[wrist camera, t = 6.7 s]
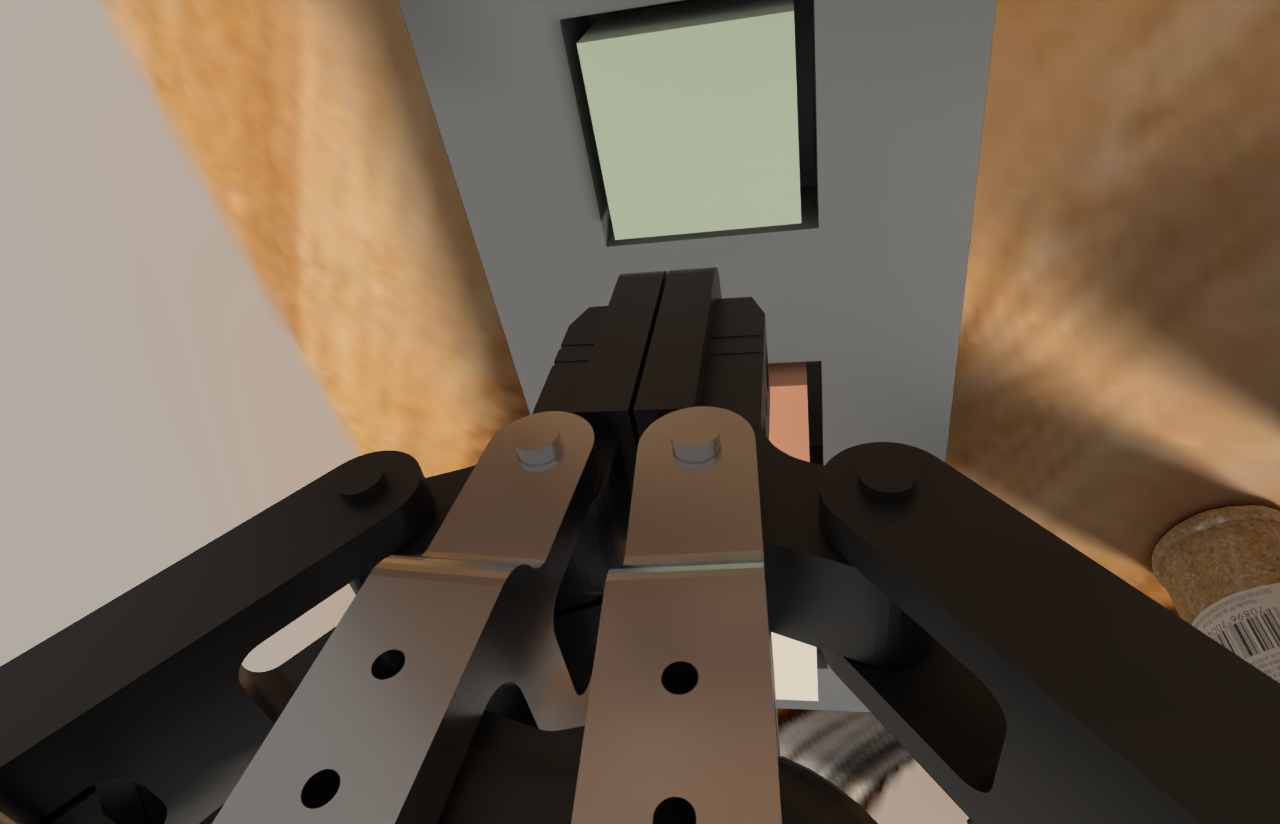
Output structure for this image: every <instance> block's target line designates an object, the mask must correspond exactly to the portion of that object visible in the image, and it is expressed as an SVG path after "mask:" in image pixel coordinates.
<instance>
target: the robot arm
mask: <svg viewBox="0 0 1280 824" xmlns="http://www.w3.org/2000/svg"><path fill="white" fill-rule="evenodd" d="M769 417H770V384H769V368H768V353H767V337H766V322H765V313H764V312H763V311H762V309H761V308H760V307H759V305H758V304H757V303H756V302H755V300H754V299H753V298H752V297H738V298H722V297H721V287H720V278H719V272H718V269H717V267H707V268H694V269H680V270H670V271H669V272H667V271H654V272H640V273H626V274H620V275H619V277H618V280H617V282H616V285H615V288H614V291H613V294H612V296H611V299H610V302H609V305H608V306H597V307H589V308H588V309H587V310H586V311H584V312H583V313H582V314H581V315H580V316H579V317H578V318H577V319H576V320H575V321H573V322H572V323H571V324H570V325H569V327H568V330H567V332H566V334H565V337H564V339H563V341H562V344H561V349H559V351H558V353H557V356H556V358H555V360H554V366H552V368H551V370H550V372H549V375H548V377H547V379H546V382H545V384H544V387H543V389H542V391H541V394H540V396H539V398H538V401H537V403H536V406H535V408H534V410H533V413H532V415H528V416H525V417H523V418H520V419H518V420H516V421H514V422H512V423H510V424H509V425H507V426H505V427H504V428H503V429H501V430H500V431H499V432H498V433H497V434H496V435H495V436H494V437H493V438H492V439H491V441H490V442H489V443H488V445H487V447H486V449H485V450H484V452H483V454H482V455H481V457H480V459H479V461H478V462H477V464H476V465H475V466H472V467H468V468H465V469H461V470H457V471H453V472H449V473H445V474H440V475H436V476H432V477H428V478H425V477H424V475H423V473H422V470H421V468H420V466H419V464H418V462H417V461H416V460H415V459H414V458H413V457H412V456H410V455H409V454H406V453H403V452H398V451H379V452H373V453H369V454H365V455H362V456H359V457H357V458H354V459H352V460H349V461H348V462H346V463H344V464H342V465H340V466H338V467H337V468H335V469H333V470H332V471H330V472H328V473H327V474H325V475H323V476H321V477H320V478H318V479H316V480H315V481H313V482H311V483H310V484H308V485H306V486H305V487H303V488H301V489H300V490H298V491H296V492H295V493H293V494H291V495H289V496H288V497H286V498H285V499H283V500H281V501H279V502H278V503H276V504H274V505H273V506H271V507H269V508H267V509H266V510H264V511H263V512H261V513H259V514H257V515H256V516H254V517H252V518H251V519H249V520H247V521H246V522H244V523H242V524H240V525H239V526H237V527H235V528H234V529H232V530H230V531H229V532H227V533H225V534H224V535H222V536H220V537H219V538H217V539H215V540H213V541H212V542H210V543H208V544H207V545H205V546H203V547H202V548H200V549H198V550H197V551H195V552H193V553H192V554H190V555H188V556H187V557H185V558H183V559H181V560H180V561H178V562H176V563H175V564H173V565H171V566H170V567H168V568H166V569H165V570H163V571H161V572H159V573H158V574H156V575H154V576H153V577H151V578H149V579H148V580H146V581H144V582H143V583H141V584H139V585H138V586H136V587H134V588H132V589H131V590H129V591H127V592H126V593H124V594H122V595H121V596H119V597H117V598H116V599H114V600H112V601H111V602H109V603H107V604H106V605H104V606H102V607H100V608H99V609H97V610H95V611H94V612H92V613H90V614H89V615H87V616H85V617H84V618H82V619H80V620H79V621H77V622H75V623H73V624H72V625H70V626H69V627H67V628H65V629H63V630H62V631H60V632H58V633H57V634H55V635H53V636H52V637H50V638H48V639H46V640H45V641H43V642H42V643H40V644H38V645H36V646H35V647H33V648H31V649H30V650H28V651H26V652H25V653H23V654H21V655H19V656H18V657H16V658H14V659H13V660H11V661H9V662H8V663H6V664H4V665H3V666H1V667H0V824H878V823H877V822H876V821H875V820H874V819H873V818H872V817H871V816H870V815H869V814H868V813H867V812H866V811H865V810H864V809H863V808H862V807H861V806H860V805H859V804H858V803H857V802H855V801H854V800H853V799H852V798H850V797H849V796H848V795H847V794H845V793H844V792H843V791H842V790H840V789H839V788H838V787H837V786H836V785H834V784H833V783H831V782H830V781H828V780H826V779H825V778H823V777H822V776H820V775H818V774H817V773H815V772H814V771H812V770H811V769H809V768H806V767H804V766H802V765H800V764H798V763H796V762H794V761H792V760H790V759H788V758H786V757H783V756H780V746H779V733H778V720H777V706H776V693H775V679H774V665H773V652H772V638H771V632H773V633H776V634H779V635H782V636H785V637H788V638H791V639H794V640H797V641H800V642H803V643H806V644H809V645H812V646H815V647H818V648H821V649H822V651H823V655H824V658H825V660H826V662H827V663H828V665H829V667H830V668H831V669H832V671H833V672H834V673H835V674H836V675H837V676H838V677H839V678H840V680H841V681H842V682H843V683H844V684H845V685H846V686H847V687H848V688H849V689H850V690H851V691H852V692H853V693H854V695H855V696H856V697H857V698H858V699H859V700H860V701H861V702H862V703H863V704H864V705H865V706H866V707H867V708H868V710H869V711H870V712H871V713H872V714H873V715H874V716H875V717H876V718H877V719H878V720H879V721H880V722H881V724H882V725H883V726H884V727H885V728H886V729H887V730H888V731H889V732H890V733H891V734H892V735H893V736H894V737H895V739H896V740H897V741H898V742H899V743H900V744H901V745H902V746H903V747H904V748H905V749H906V750H907V751H908V752H909V754H910V755H911V756H912V757H913V758H914V759H915V760H916V761H917V762H918V763H919V764H920V765H921V766H922V768H923V769H924V770H925V771H926V772H927V773H928V774H929V775H930V776H931V777H932V778H933V779H934V780H935V781H936V782H937V784H938V785H939V786H940V787H941V788H942V789H943V790H944V791H945V792H946V793H947V794H948V795H949V796H950V797H951V799H952V800H953V801H954V802H955V803H956V804H957V805H958V806H959V807H960V808H961V809H962V810H963V811H964V813H965V814H966V815H967V816H968V817H969V818H970V819H971V820H972V821H973V822H974V823H975V824H1280V683H1279V682H1277V681H1276V680H1274V679H1272V678H1271V677H1269V676H1268V675H1266V674H1265V673H1263V672H1262V671H1260V670H1259V669H1257V668H1256V667H1254V666H1253V665H1251V664H1250V663H1248V662H1247V661H1245V660H1244V659H1242V658H1241V657H1239V656H1238V655H1236V654H1235V653H1233V652H1232V651H1230V650H1229V649H1227V648H1225V647H1224V646H1222V645H1221V644H1219V643H1218V642H1216V641H1215V640H1213V639H1212V638H1210V637H1209V636H1207V635H1206V634H1204V633H1203V632H1201V631H1200V630H1198V629H1197V628H1195V627H1194V626H1192V625H1191V624H1189V623H1188V622H1186V621H1185V620H1183V619H1181V618H1180V617H1178V616H1177V615H1175V614H1174V613H1172V612H1171V611H1169V610H1168V609H1166V608H1165V607H1163V606H1162V605H1160V604H1159V603H1157V602H1156V601H1154V600H1153V599H1151V598H1150V597H1148V596H1147V595H1145V594H1144V593H1142V592H1141V591H1139V590H1137V589H1136V588H1134V587H1133V586H1131V585H1130V584H1128V583H1127V582H1125V581H1124V580H1122V579H1121V578H1119V577H1118V576H1116V575H1115V574H1113V573H1112V572H1110V571H1109V570H1107V569H1106V568H1104V567H1103V566H1101V565H1100V564H1098V563H1097V562H1095V561H1093V560H1092V559H1090V558H1089V557H1087V556H1086V555H1084V554H1083V553H1081V552H1080V551H1078V550H1077V549H1075V548H1074V547H1072V546H1071V545H1069V544H1068V543H1066V542H1065V541H1063V540H1062V539H1060V538H1059V537H1057V536H1056V535H1054V534H1053V533H1051V532H1050V531H1048V530H1046V529H1045V528H1043V527H1042V526H1040V525H1039V524H1037V523H1036V522H1034V521H1033V520H1031V519H1030V518H1028V517H1027V516H1025V515H1024V514H1022V513H1021V512H1019V511H1018V510H1016V509H1015V508H1013V507H1012V506H1010V505H1009V504H1007V503H1006V502H1004V501H1002V500H1001V499H999V498H998V497H996V496H995V495H993V494H992V493H990V492H989V491H987V490H986V489H984V488H983V487H981V486H980V485H978V484H977V483H975V482H974V481H972V480H971V479H969V478H968V477H966V476H965V475H963V474H962V473H960V472H958V471H957V470H955V469H954V468H952V467H951V466H949V465H948V464H946V463H945V462H943V461H942V460H940V459H939V458H937V457H936V456H934V455H932V454H930V453H929V452H927V451H924V450H922V449H919V448H917V447H913V446H910V445H906V444H901V443H895V442H871V443H865V444H860V445H856V446H853V447H850V448H848V449H845V450H843V451H841V452H840V453H838V454H836V455H835V456H833V457H832V458H831V459H830V460H829V461H828V462H827V463H826V465H820V464H816V463H811V462H807V461H804V460H800V459H797V458H795V457H792V456H790V455H788V454H786V453H784V452H782V451H781V450H779V449H778V448H777V447H775V446H774V445H773V444H772V443H771V442H770V441H769V423H770V421H769ZM348 583H349V584H350V586H351V587H352V589H353V591H354V592H355V594H356V597H355V598H354V600H353V601H352V603H351V605H350V606H349V608H348V609H347V611H346V612H345V614H344V616H343V617H342V619H341V620H340V622H339V623H338V625H337V626H336V627H335V628H333V629H332V630H330V631H329V632H328V633H326V634H325V635H323V636H322V637H321V638H319V639H318V640H316V641H315V642H313V643H312V644H311V645H309V646H308V647H306V648H305V649H304V650H302V651H301V652H299V653H298V654H296V655H295V656H293V657H292V658H291V659H289V660H288V661H286V662H285V663H283V664H282V665H280V666H279V667H277V668H275V669H273V670H270V671H266V672H259V673H257V672H251V671H248V670H247V669H245V668H244V667H243V666H242V665H241V664H242V662H243V660H244V658H245V657H246V656H247V655H248V653H249V652H250V651H251V650H252V649H253V648H255V647H256V646H257V645H259V644H260V643H261V642H263V641H264V640H266V639H267V638H269V637H270V636H272V635H273V634H275V633H276V632H278V631H279V630H281V629H282V628H284V627H285V626H287V625H288V624H289V623H291V622H292V621H294V620H295V619H297V618H298V617H300V616H301V615H303V614H304V613H306V612H307V611H308V610H310V609H311V608H313V607H314V606H316V605H317V604H319V603H320V602H322V601H323V600H325V599H326V598H328V597H329V596H331V595H332V594H334V593H335V592H336V591H338V590H340V589H341V588H342V587H344V586H345V585H347V584H348Z"/></svg>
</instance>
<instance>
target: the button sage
mask: <svg viewBox="0 0 1280 824" xmlns="http://www.w3.org/2000/svg"><path fill="white" fill-rule="evenodd" d="M576 44H577V49H578V54H579V59H580V64H581V69H582V74H583V79H584V84H585V89H586V94H587V99H588V105H589V110H590V115H591V120H592V125H593V130H594V135H595V140H596V145H597V150H598V155H599V160H600V165H601V170H602V176H603V181H604V186H605V191H606V196H607V201H608V206H609V211H610V216H611V221H612V226H613V231H614V236H615V240H622V239H633V238H644V237H655V236H666V235H677V234H688V233H699V232H711V231H722V230H733V229H744V228H755V227H766V226H777V225H788V224H800V223H801V196H800V167H799V139H798V110H797V81H796V53H795V24H794V3H793V0H694V1H687V2H681V3H675V4H668V5H662V6H656V7H649V8H643V9H636V10H630V11H624V12H617V13H611V14H605V15H601V16H600V17H599V18H598V20H597V21H596V22H595V23H594V24H593V25H592V26H591V28H590V29H589V30H588V31H587V32H586V33H585V34H584V35H583V37H582V38H581V39H580V40H579V41H578V42H577V43H576Z"/></svg>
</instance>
